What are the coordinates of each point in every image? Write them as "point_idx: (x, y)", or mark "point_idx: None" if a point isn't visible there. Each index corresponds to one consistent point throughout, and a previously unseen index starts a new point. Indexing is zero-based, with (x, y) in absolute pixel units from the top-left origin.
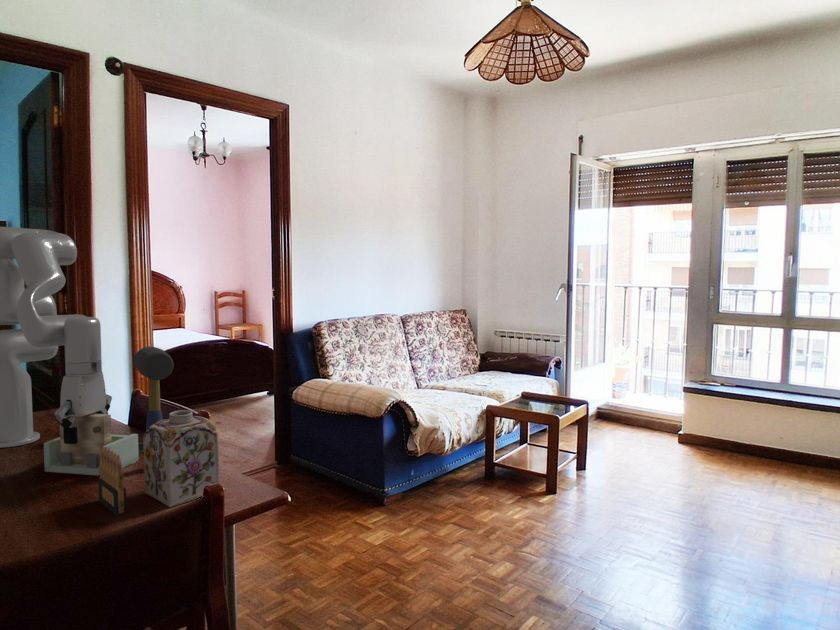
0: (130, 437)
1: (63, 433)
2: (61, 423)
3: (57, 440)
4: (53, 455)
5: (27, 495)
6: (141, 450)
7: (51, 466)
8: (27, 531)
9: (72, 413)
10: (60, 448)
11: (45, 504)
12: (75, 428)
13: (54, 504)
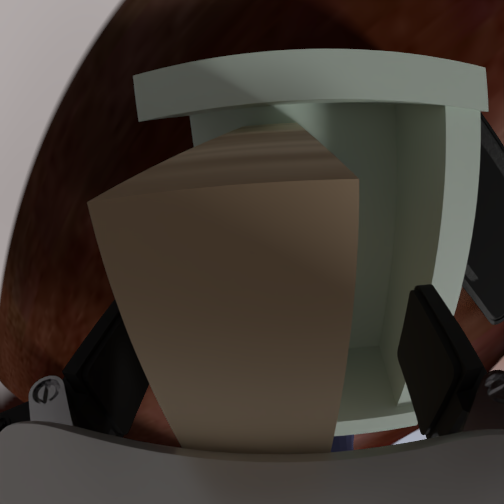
0: (367, 432)
1: (86, 337)
2: (20, 417)
3: (220, 107)
4: (202, 112)
5: (43, 244)
6: (476, 302)
7: (191, 123)
8: (12, 360)
9: (163, 458)
10: (230, 131)
11: (49, 325)
12: (110, 433)
13: (60, 341)
